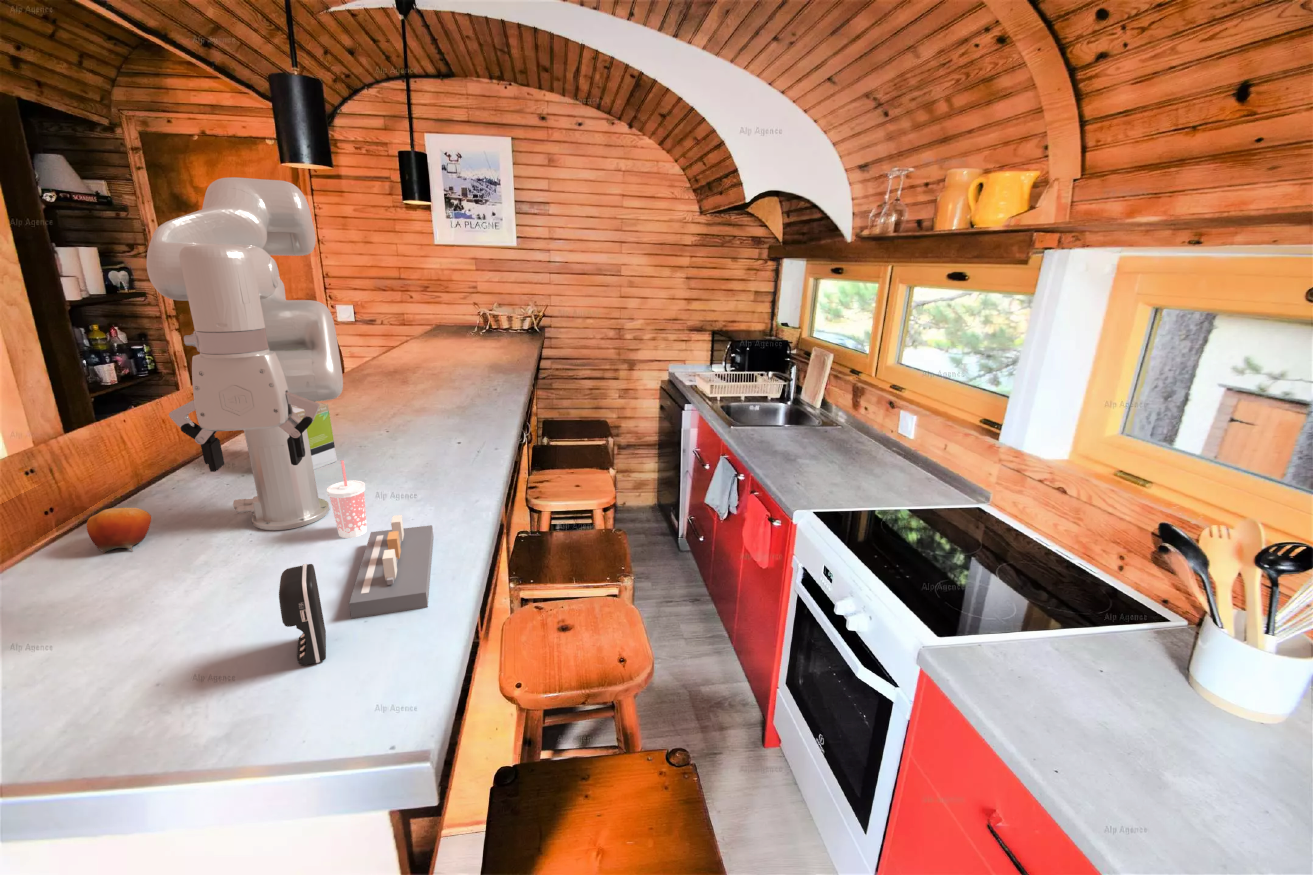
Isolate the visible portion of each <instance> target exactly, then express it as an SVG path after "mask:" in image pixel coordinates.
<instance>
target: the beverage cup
mask: <svg viewBox="0 0 1313 875" xmlns="http://www.w3.org/2000/svg"><path fill="white" fill-rule="evenodd" d="M340 465H341V472H342V479H343V481H339V482H336V483H333V484H331V485H329V486H328V487H327V488H326V494H327V496H329V499H330V502H331V504H330V505H331V508H332V512H333V516H334V521H335V523H336V524H335V525H336V528H337V532H338V536H339V537H340V538H343V539H353V538H358V537H360V536H363V535H364V534H366V533H367V531H368V527H367V515H366V500H365V499H366V498H365V491H366V483H365V482H364V481H361V480H347V474H346V473H347V472H346V466H345V461H344V459H341V460H340Z"/></svg>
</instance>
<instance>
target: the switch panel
mask: <svg viewBox="0 0 1313 875" xmlns="http://www.w3.org/2000/svg"><path fill="white" fill-rule="evenodd" d="M403 529H404V537H403V541H401V546H400V548H401V553H400V558H399V559H398V562H397V574H396V579H394V583H393V584H391V585H387V580H385V575H384V567H383V560H382V558H383V554H384V550H388V544H387V538H388V533H389V532H392V529H386V530H377V531H370V533H369V537H368V541H367V544H366V546H365V551H364V554H363V558H362V560H361V563H360V566H359V570H358V573H357V576H356V580H355V583H354V587H353V590H352V593H351V597H350V600H349V603H348V605H349V610H350V615H351V619H358V618H364V617H370V616H378V615H384V614H390V613H397V612H404V611H410V610H416V609H417V610H418V609H424V608H428V607H429V606H428V605H429V597H430V596H429V594H430V586H431V582H430V581H431V570H432V561H433V548H434V531H433V530H434V527H433V525H423V526H422V525H420V526H413V527H403Z"/></svg>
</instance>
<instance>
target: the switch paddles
mask: <svg viewBox="0 0 1313 875" xmlns="http://www.w3.org/2000/svg"><path fill="white" fill-rule="evenodd" d="M390 523H391V524H390V525H391V526H390V527H391V530H392V532H389V533H388V538H387V544H388V550H384V554H383V558H382V560H383V567H384V575H385V580H387V585H391V584H393V583H394V579H396V574H397V562H398V559H399V558H400V553H401V548H400V546H401V541H403V537H404V529H403V528H404V522H403V515H402V514H397V515H393V516H392V517H391V522H390Z"/></svg>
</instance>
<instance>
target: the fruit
mask: <svg viewBox="0 0 1313 875" xmlns="http://www.w3.org/2000/svg"><path fill="white" fill-rule="evenodd" d="M86 521H87V522H86V532H87V534H88V537H89V539H90V541H91V542H92V544H93V545H94V546H95V547H96V548H97V549H98V550H99V551H101V552H102V553H103V554H105V553H107V552H109V551H112V550H115V549H128V550H130V552H134V551H133V547H134V546H135V545H137V544H140V543H142V542H143V540H144V539H145V538H146V536H147V534H148V532H149V530H150V527H151V522H152V515H151V514H150V513H149V512H148V511H146V510H144V509H141V508H138V507H114V508H113V507H111V508H106V509H103V510H101V511H99V512H98V513H97V514H94V515H92V516H89V518H88V519H87V520H86Z"/></svg>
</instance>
